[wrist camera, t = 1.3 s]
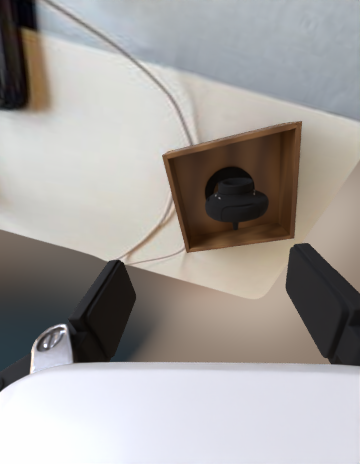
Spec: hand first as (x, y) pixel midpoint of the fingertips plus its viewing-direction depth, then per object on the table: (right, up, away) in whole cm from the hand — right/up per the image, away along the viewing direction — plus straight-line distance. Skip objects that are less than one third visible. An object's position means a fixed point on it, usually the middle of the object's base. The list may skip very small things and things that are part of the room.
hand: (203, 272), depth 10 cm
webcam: (+6, +9, +19) cm, 22 cm away
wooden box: (+6, +9, +19) cm, 22 cm away
